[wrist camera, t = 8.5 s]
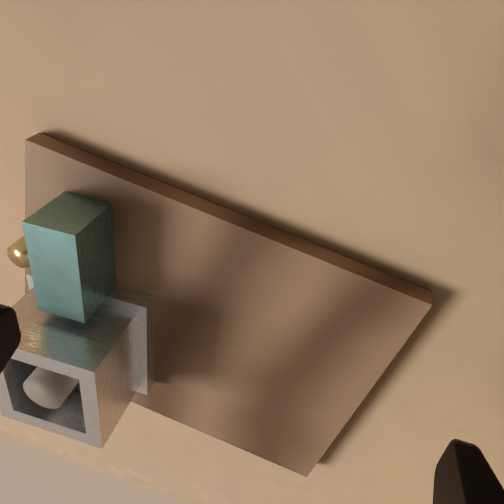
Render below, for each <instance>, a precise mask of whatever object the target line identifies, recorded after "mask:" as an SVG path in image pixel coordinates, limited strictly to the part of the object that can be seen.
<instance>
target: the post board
mask: <svg viewBox="0 0 504 504" xmlns="http://www.w3.org/2000/svg"><path fill="white" fill-rule="evenodd" d="M64 191H66V192H70V193H74V194H78V195H82V196H86V197H90V198H94V199H98V200H102V201H106V202H110V203H112V205H113V223H114V241H115V259H116V277H117V285H118V286H121V287H125V288H129V289H132V290H136V291H140V292H143V293H147V294H151V295H154V296H155V382H154V384H153V386H152V388H151V390H150V391H149V393H148V395H145V394H142V393H139V392H136V393H135V395H134V396H133V398H132V400H131V402H134V403H136V404H138V405H141V406H143V407H145V408H148V409H150V410H152V411H155V412H157V413H159V414H161V415H164V416H166V417H168V418H171V419H173V420H175V421H178V422H180V423H182V424H185V425H187V426H189V427H192V428H194V429H196V430H199V431H201V432H203V433H206V434H208V435H210V436H213V437H215V438H217V439H220V440H222V441H224V442H227V443H229V444H231V445H234V446H236V447H238V448H241V449H243V450H245V451H247V452H250V453H252V454H254V455H257V456H259V457H261V458H264V459H266V460H268V461H271V462H273V463H275V464H278V465H280V466H282V467H285V468H287V469H289V470H292V471H294V472H296V473H299V474H301V475H303V476H306V477H307V476H308V475H309V473H310V472H311V471H312V469H313V468H314V466H315V465H316V464H317V462H318V461H319V460H320V458H321V457H322V456H323V454H324V453H325V451H326V450H327V449H328V447H329V446H330V445H331V443H332V442H333V440H334V439H335V438H336V436H337V435H338V434H339V432H340V431H341V430H342V428H343V427H344V425H345V424H346V423H347V421H348V420H349V419H350V417H351V416H352V414H353V413H354V412H355V410H356V409H357V408H358V406H359V405H360V403H361V402H362V401H363V399H364V398H365V397H366V395H367V394H368V393H369V391H370V390H371V388H372V387H373V386H374V384H375V383H376V382H377V380H378V379H379V377H380V376H381V375H382V373H383V372H384V371H385V369H386V368H387V367H388V365H389V364H390V362H391V361H392V360H393V358H394V357H395V356H396V354H397V353H398V351H399V350H400V349H401V347H402V346H403V345H404V343H405V342H406V341H407V339H408V338H409V336H410V335H411V334H412V332H413V331H414V330H415V328H416V327H417V325H418V324H419V323H420V321H421V320H422V319H423V317H424V316H425V315H426V313H427V312H428V310H429V309H430V308H431V306H432V297H431V291H429V290H427V289H424V288H422V287H419V286H417V285H414V284H412V283H409V282H407V281H405V280H402V279H400V278H397V277H395V276H392V275H390V274H387V273H385V272H382V271H380V270H377V269H375V268H372V267H370V266H368V265H365V264H363V263H360V262H358V261H355V260H353V259H350V258H348V257H345V256H343V255H340V254H338V253H335V252H333V251H331V250H328V249H326V248H323V247H321V246H318V245H316V244H313V243H311V242H308V241H306V240H303V239H301V238H298V237H296V236H294V235H291V234H289V233H286V232H284V231H281V230H279V229H276V228H274V227H271V226H269V225H266V224H264V223H261V222H259V221H257V220H254V219H252V218H249V217H247V216H244V215H242V214H239V213H237V212H234V211H232V210H229V209H227V208H224V207H222V206H220V205H217V204H215V203H212V202H210V201H207V200H205V199H202V198H200V197H197V196H195V195H192V194H190V193H187V192H185V191H183V190H180V189H178V188H175V187H173V186H170V185H168V184H165V183H163V182H160V181H158V180H155V179H153V178H150V177H148V176H146V175H143V174H141V173H138V172H136V171H133V170H131V169H128V168H126V167H123V166H121V165H118V164H116V163H113V162H111V161H109V160H106V159H104V158H101V157H99V156H96V155H94V154H91V153H89V152H86V151H84V150H81V149H79V148H76V147H74V146H72V145H69V144H67V143H64V142H62V141H59V140H57V139H54V138H52V137H49V136H47V135H44V134H42V133H38V134H36V135H34V136H32V137H30V138H28V139H26V160H25V219H26V218H28V217H29V216H31V215H32V214H33V213H35V212H36V211H38V210H39V209H40V208H42V207H43V206H45V205H46V204H47V203H49V202H50V201H52V200H53V199H54V198H56V197H57V196H59V195H60V194H61V193H63V192H64ZM29 271H31V268H30V266H29V267H28V268H25V294H26V293H28V292H29V287H28V282H27V277H26V274H27V273H28V272H29ZM78 382H79V379H76V378H72V377H69V376H66V375H63V374H60V373H56V372H53V371H50V370H47V369H43V368H40V367H37V368H36V369H35V370H34V371H33V372H32V374H31V375H30V376H29V377H28V378H27V379H26V380H25V382H24V384H23V388H24V391H25V393H26V394H27V396H28V397H29V398H30V399H31V400H32V401H34V402H35V403H37V404H38V405H40V406H42V407H45V408H49V409H56V408H59V407H60V406H61V405H62V403H63V402H64V401H65V399H66V398H67V397H68V395H69V394H70V393H71V391H72V390H73V389H74V387H75V386H76V385H77V383H78Z"/></svg>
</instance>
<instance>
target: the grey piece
mask: <svg viewBox="0 0 504 504" xmlns="http://www.w3.org/2000/svg"><path fill="white" fill-rule="evenodd" d="M22 225H23V231H24V236H25V241H26V247H27V252H28V258H29V263H30V268H31V271H29V272H28V273H27V274H26V277H27V282H28V287H29V292H28V293H26V294H25V295H24V296H23V297H22V298H21V299H20V300H19V301H18V302H17V303H16V304H14V305H13V306H12V307H11V308H13V309H14V310H15V312H16V315H17V320H18V324H19V328H20V332H21V341H20V344H19V346H18V348H17V349H16V351H15V352H14V354H13V355H12V357H11V359H10V360H9V362H8V363H7V365H6V366H5V368H4V369H3V371H2V372H1V374H0V410H1V413H2V416H5V417H8V418H11V419H14V420H17V421H20V422H23V423H26V424H29V425H32V426H36V427H39V428H42V429H45V430H48V431H51V432H54V433H57V434H60V435H63V436H66V437H69V438H72V439H75V440H78V441H81V442H84V443H87V444H90V445H93V446H96V447H99V448H103V447H104V445H105V443H106V442H107V440H108V438H109V437H110V435H111V433H112V431H113V430H114V428H115V426H116V425H117V423H118V421H119V420H120V418H121V416H122V415H123V413H124V411H125V410H126V408H127V406H128V405H129V403H130V401H131V400H132V398H133V396H134V395H135V393H136V392H139V393H142V394H145V395H148V393H149V391H150V390H151V388H152V386H153V384H154V382H155V296H154V295H151V294H147V293H143V292H140V291H136V290H132V289H129V288H125V287H121V286H118V285H117V277H116V259H115V241H114V223H113V205H112V203H110V202H106V201H102V200H98V199H94V198H90V197H86V196H82V195H78V194H74V193H70V192H66V191H64V192H63V193H61V194H60V195H59V196H57V197H56V198H54V199H53V200H52V201H50V202H49V203H47V204H46V205H45V206H43V207H42V208H40V209H39V210H38V211H36V212H35V213H33V214H32V215H31V216H29V217H28V218H26V219H25V220H24V221H22ZM37 367H40V368H43V369H47V370H50V371H53V372H56V373H60V374H63V375H66V376H69V377H72V378H76V379H79V382H78V383H77V385H76V386H75V387H74V389H73V390H72V391H71V393H70V394H69V395H68V397H67V398H66V399H65V401H64V402H63V403H62V405H61V406H60V407H59V408H56V409H49V408H45V407H42V406H40V405H38V404H37V403H35V402H34V401H32V400H31V399H30V398H29V397H28V396H27V394H26V393H25V391H24V388H23V384H24V382H25V380H26V379H27V378H28V377H29V376H30V375H31V374H32V372H33V371H34V370H35V369H36V368H37Z"/></svg>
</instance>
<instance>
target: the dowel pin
mask: <svg viewBox="0 0 504 504" xmlns="http://www.w3.org/2000/svg"><path fill="white" fill-rule="evenodd" d="M7 254H8V257H9V258H10V260H11V261H12V262H13V263H14V264H15V265H17V266H19V267H21V268H28V267H29V266H30V263H29V258H28V252H27V247H26V241H25V236H23V237H22V238H20V239H19V240H18V241H16V242H15V243H14V244H12V245H11V246H10V247H9V248H8V250H7Z"/></svg>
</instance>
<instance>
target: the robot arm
mask: <svg viewBox="0 0 504 504" xmlns="http://www.w3.org/2000/svg"><path fill="white" fill-rule="evenodd" d="M20 341H21V332H20V328H19V324H18V320H17V315H16V312H15V310H14V309H13V308H11V307H8V306H5V305H2V304H0V374H1V372H2V371H3V369H4V368H5V366H6V365H7V363H8V362H9V360H10V359H11V357H12V355H13V354H14V352H15V351H16V349H17V348H18V346H19V344H20ZM433 504H504V489H503V487H502V486H501V484H500V482H499V481H498V479H497V477H496V476H495V474H494V472H493V470H492V469H491V467H490V465H489V464H488V462H487V460H486V459H485V457H484V455H483V454H482V452H481V450H480V449H479V448H478V447H477V446H476V445H474V444H472V443H468V442H465V441H462V440H458V439H453V440H452V441H451V442H450V443H449V445H448V446H447V448H446V450H445V451H444V453H443V455H442V457H441V458H440V460H439V462H438V464H437V466H436V470H435V477H434V492H433Z"/></svg>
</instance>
